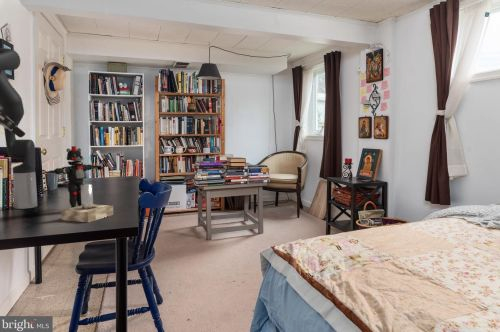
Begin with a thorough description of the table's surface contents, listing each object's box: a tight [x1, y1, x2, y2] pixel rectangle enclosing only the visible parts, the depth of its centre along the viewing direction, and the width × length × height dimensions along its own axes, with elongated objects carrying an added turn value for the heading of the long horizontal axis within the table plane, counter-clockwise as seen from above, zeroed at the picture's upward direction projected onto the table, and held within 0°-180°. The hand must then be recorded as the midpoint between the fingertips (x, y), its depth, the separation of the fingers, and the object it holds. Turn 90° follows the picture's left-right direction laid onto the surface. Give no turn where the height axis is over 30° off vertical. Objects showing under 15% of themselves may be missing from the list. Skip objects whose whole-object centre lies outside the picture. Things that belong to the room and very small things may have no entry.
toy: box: [43, 145, 103, 208], centre depth 156 cm, size 30×8×30 cm, turn 164°
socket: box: [61, 203, 114, 223], centre depth 145 cm, size 14×14×4 cm
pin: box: [81, 183, 94, 210], centre depth 144 cm, size 4×4×14 cm
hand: (22, 135), depth 136 cm, fingers open, 8 cm apart
